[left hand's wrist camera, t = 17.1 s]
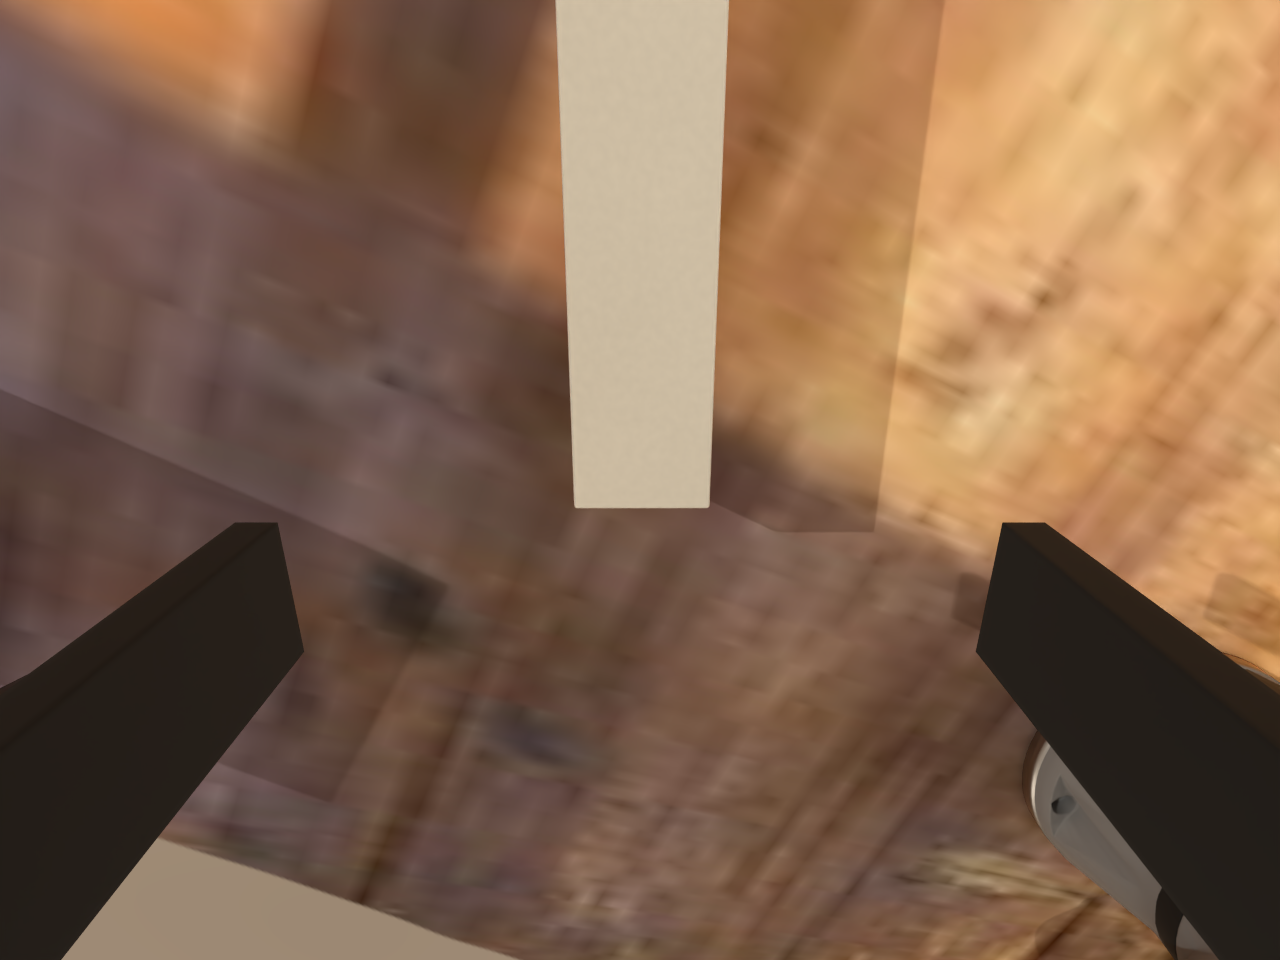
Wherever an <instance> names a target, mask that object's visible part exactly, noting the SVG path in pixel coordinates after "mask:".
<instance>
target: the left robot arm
mask: <svg viewBox="0 0 1280 960" xmlns="http://www.w3.org/2000/svg"><path fill="white" fill-rule="evenodd" d="M303 652H304V649H303V644H302V639H301V634H300V629H299V625H298V620H297V615H296V610H295V605H294V600H293V595H292V591H291V586H290V581H289V576H288V571H287V566H286V562H285V557H284V552H283V547H282V542H281V537H280V533H279V528H278V523H234V524H233V525H231V526H230V527H229V528H227V529H226V530H224V531H223V532H222V533H220V534H219V535H218V536H216V537H215V538H214V539H212V540H211V541H209V542H208V543H207V544H205V545H204V546H203V547H201V548H200V549H199V550H197V551H196V552H194V553H193V554H192V555H190V556H189V557H188V558H186V559H185V560H184V561H182V562H181V563H179V564H178V565H177V566H175V567H174V568H173V569H171V570H170V571H169V572H167V573H166V574H164V575H163V576H162V577H160V578H159V579H158V580H156V581H155V582H154V583H152V584H151V585H149V586H148V587H147V588H145V589H144V590H143V591H141V592H140V593H139V594H137V595H136V596H134V597H133V598H132V599H130V600H129V601H128V602H126V603H125V604H124V605H122V606H121V607H120V608H118V609H117V610H115V611H114V612H113V613H111V614H110V615H109V616H107V617H106V618H105V619H103V620H102V621H100V622H99V623H98V624H96V625H95V626H94V627H92V628H91V629H90V630H88V631H87V632H85V633H84V634H83V635H81V636H80V637H79V638H77V639H76V640H75V641H73V642H72V643H70V644H69V645H68V646H66V647H65V648H64V649H62V650H61V651H60V652H58V653H57V654H55V655H54V656H53V657H51V658H50V659H49V660H47V661H46V662H45V663H43V664H42V665H40V666H39V667H38V668H36V669H35V670H34V671H32V672H31V673H30V674H28V675H26V676H24V677H22V678H20V679H18V680H16V681H14V682H12V683H10V684H8V685H6V686H4V687H2V688H0V960H61V959H62V958H63V957H64V955H65V954H66V953H67V952H68V950H69V949H70V948H71V947H72V945H73V944H74V943H75V941H76V940H77V939H78V938H79V936H80V935H81V934H82V933H83V931H84V930H85V929H86V928H87V926H88V925H89V924H90V922H91V921H92V920H93V919H94V917H95V916H96V915H97V914H98V912H99V911H100V910H101V909H102V907H103V906H104V905H105V903H106V902H107V901H108V900H109V898H110V897H111V896H112V895H113V893H114V892H115V891H116V890H117V888H118V887H119V886H120V884H121V883H122V882H123V881H124V879H125V878H126V877H127V876H128V874H129V873H130V872H131V871H132V869H133V868H134V867H135V865H136V864H137V863H138V862H139V860H140V859H141V858H142V857H143V855H144V854H145V853H146V851H147V850H148V849H149V848H150V846H151V845H152V844H153V843H154V841H155V840H156V839H157V838H158V836H159V835H160V834H161V832H162V831H163V830H164V829H165V827H166V826H167V825H168V824H169V822H170V821H171V820H172V818H173V817H174V816H175V815H176V813H177V812H178V811H179V810H180V808H181V807H182V806H183V805H184V803H185V802H186V801H187V799H188V798H189V797H190V796H191V794H192V793H193V792H194V791H195V789H196V788H197V787H198V786H199V784H200V783H201V782H202V780H203V779H204V778H205V777H206V775H207V774H208V773H209V772H210V770H211V769H212V768H213V766H214V765H215V764H216V763H217V761H218V760H219V759H220V758H221V756H222V755H223V754H224V753H225V751H226V750H227V749H228V747H229V746H230V745H231V744H232V742H233V741H234V740H235V739H236V737H237V736H238V735H239V734H240V732H241V731H242V730H243V728H244V727H245V726H246V725H247V723H248V722H249V721H250V720H251V718H252V717H253V716H254V714H255V713H256V712H257V711H258V709H259V708H260V707H261V706H262V704H263V703H264V702H265V701H266V699H267V698H268V697H269V695H270V694H271V693H272V692H273V690H274V689H275V688H276V687H277V685H278V684H279V683H280V682H281V680H282V679H283V678H284V676H285V675H286V674H287V673H288V671H289V670H290V669H291V668H292V666H293V665H294V664H295V662H296V661H297V660H298V659H299V657H300V656H301V655H302V654H303ZM976 652H977V654H978V655H979V656H980V657H981V659H982V660H983V661H984V662H985V664H986V665H987V666H988V668H989V669H990V670H991V671H992V673H993V674H994V675H995V676H996V678H997V679H998V680H999V682H1000V683H1001V684H1002V685H1003V687H1004V688H1005V689H1006V690H1007V692H1008V693H1009V694H1010V695H1011V697H1012V698H1013V699H1014V701H1015V702H1016V703H1017V704H1018V706H1019V707H1020V708H1021V709H1022V711H1023V712H1024V713H1025V714H1026V716H1027V717H1028V718H1029V720H1030V721H1031V722H1032V723H1033V725H1034V726H1035V727H1036V728H1037V730H1038V731H1037V732H1036V734H1035V736H1034V738H1033V740H1032V742H1031V744H1030V746H1029V749H1028V751H1027V754H1026V757H1025V761H1024V766H1023V772H1022V787H1023V794H1024V798H1025V802H1026V804H1027V806H1028V809H1029V811H1030V813H1031V814H1032V816H1033V818H1034V819H1035V821H1036V822H1037V824H1038V825H1039V827H1040V828H1041V830H1042V831H1043V833H1044V834H1045V836H1046V837H1047V838H1048V839H1049V841H1050V842H1051V843H1052V844H1053V845H1054V846H1055V848H1056V849H1057V850H1058V851H1059V852H1060V853H1061V854H1062V855H1063V856H1064V857H1065V858H1066V859H1067V860H1068V861H1069V862H1070V863H1071V864H1073V865H1074V866H1075V867H1076V868H1077V869H1079V870H1080V871H1081V872H1082V873H1083V874H1085V875H1086V876H1087V877H1088V878H1090V879H1091V880H1092V881H1093V882H1094V883H1096V884H1097V885H1098V886H1099V887H1100V888H1102V889H1103V890H1104V891H1105V892H1106V893H1108V894H1109V895H1110V896H1111V897H1113V898H1114V899H1115V900H1116V901H1117V902H1119V903H1120V904H1121V905H1122V906H1123V907H1125V908H1126V909H1127V910H1128V911H1130V912H1131V913H1132V914H1133V915H1134V916H1136V917H1137V918H1138V919H1139V920H1140V921H1142V922H1143V923H1144V924H1145V925H1146V926H1148V927H1149V928H1150V929H1151V930H1153V932H1154V933H1155V934H1156V935H1157V936H1158V938H1159V939H1160V940H1161V942H1162V943H1163V944H1164V946H1165V947H1166V948H1167V950H1168V951H1169V952H1170V954H1171V955H1172V956H1173V958H1174V959H1175V960H1280V683H1279V682H1278V681H1277V680H1275V679H1274V678H1272V677H1271V676H1270V675H1268V674H1267V673H1265V672H1264V671H1263V670H1261V669H1260V668H1258V667H1257V666H1255V665H1253V664H1251V663H1250V662H1247V661H1245V660H1243V659H1240V658H1238V657H1235V656H1231V655H1228V654H1224V653H1222V652H1220V651H1219V650H1218V649H1216V648H1215V647H1214V646H1212V645H1211V644H1210V643H1208V642H1207V641H1205V640H1204V639H1203V638H1201V637H1200V636H1199V635H1197V634H1196V633H1195V632H1193V631H1192V630H1190V629H1189V628H1188V627H1186V626H1185V625H1184V624H1182V623H1181V622H1180V621H1178V620H1177V619H1175V618H1174V617H1173V616H1171V615H1170V614H1169V613H1167V612H1166V611H1165V610H1163V609H1162V608H1160V607H1159V606H1158V605H1156V604H1155V603H1154V602H1152V601H1151V600H1150V599H1148V598H1147V597H1146V596H1144V595H1143V594H1141V593H1140V592H1139V591H1137V590H1136V589H1135V588H1133V587H1132V586H1131V585H1129V584H1128V583H1126V582H1125V581H1124V580H1122V579H1121V578H1120V577H1118V576H1117V575H1116V574H1114V573H1113V572H1111V571H1110V570H1109V569H1107V568H1106V567H1105V566H1103V565H1102V564H1101V563H1099V562H1098V561H1096V560H1095V559H1094V558H1092V557H1091V556H1090V555H1088V554H1087V553H1086V552H1084V551H1083V550H1081V549H1080V548H1079V547H1077V546H1076V545H1075V544H1073V543H1072V542H1071V541H1069V540H1068V539H1066V538H1065V537H1064V536H1062V535H1061V534H1060V533H1058V532H1057V531H1056V530H1054V529H1053V528H1051V527H1050V526H1049V525H1047V524H1046V523H1002V528H1001V533H1000V537H999V542H998V547H997V552H996V557H995V562H994V566H993V571H992V576H991V581H990V586H989V591H988V595H987V600H986V605H985V610H984V615H983V620H982V625H981V629H980V634H979V639H978V644H977V649H976Z"/></svg>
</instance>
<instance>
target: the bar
mask: <svg viewBox="0 0 1280 960" xmlns="http://www.w3.org/2000/svg"><path fill="white" fill-rule="evenodd" d="M555 1H556V28H557V55H558V82H559V109H560V135H561V162H562V189H563V216H564V243H565V269H566V296H567V323H568V350H569V377H570V403H571V430H572V457H573V484H574V506H575V508H708V507H709V501H710V475H711V449H712V423H713V398H714V372H715V346H716V320H717V294H718V269H719V243H720V217H721V191H722V166H723V140H724V114H725V88H726V63H727V37H728V11H729V0H555Z"/></svg>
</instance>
